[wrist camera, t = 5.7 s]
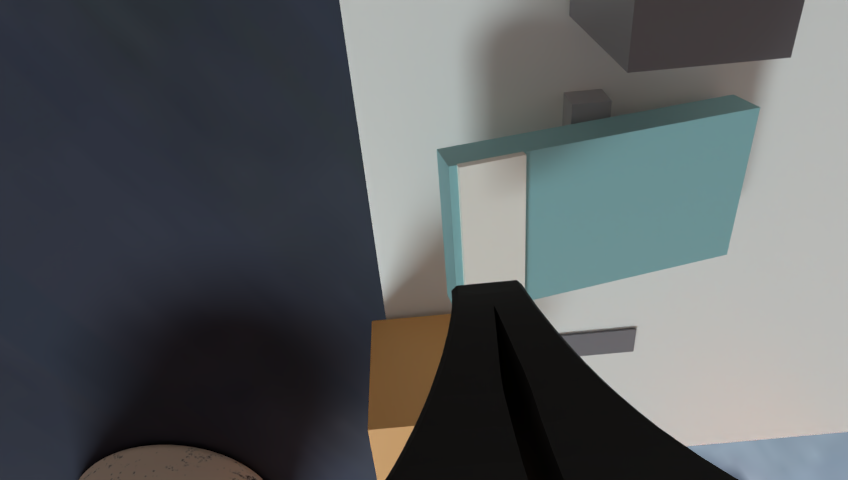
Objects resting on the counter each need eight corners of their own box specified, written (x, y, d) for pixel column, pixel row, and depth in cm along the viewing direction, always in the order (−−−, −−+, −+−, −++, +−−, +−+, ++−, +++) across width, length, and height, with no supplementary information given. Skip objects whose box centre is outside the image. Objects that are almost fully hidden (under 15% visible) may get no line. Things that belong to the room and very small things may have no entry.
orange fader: (464, 312, 20) (481, 419, 16) (469, 398, 22) (485, 510, 18) (372, 320, 20) (367, 430, 16) (385, 406, 22) (384, 519, 18)
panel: (1194, -423, 12) (1327, -466, 11) (844, 406, 25) (878, 448, 24) (296, -335, 12) (280, -365, 11) (407, 446, 25) (409, 491, 24)
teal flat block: (733, 94, 16) (764, 109, 15) (704, 236, 18) (730, 257, 17) (436, 148, 15) (450, 169, 14) (447, 295, 17) (460, 321, 16)
